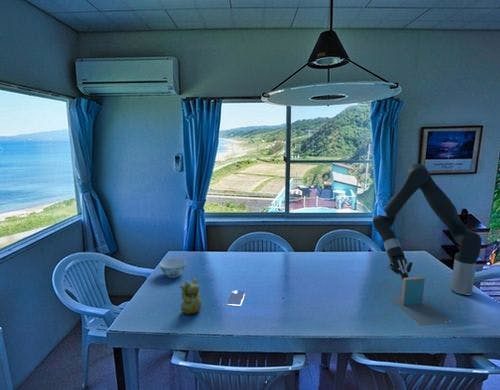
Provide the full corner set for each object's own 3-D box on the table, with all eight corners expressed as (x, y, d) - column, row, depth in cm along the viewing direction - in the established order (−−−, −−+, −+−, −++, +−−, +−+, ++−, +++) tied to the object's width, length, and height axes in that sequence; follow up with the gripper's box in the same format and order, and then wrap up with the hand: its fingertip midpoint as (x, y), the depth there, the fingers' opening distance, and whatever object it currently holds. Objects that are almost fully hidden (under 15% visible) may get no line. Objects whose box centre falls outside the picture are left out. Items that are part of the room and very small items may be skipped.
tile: (400, 303, 148) (403, 278, 146) (419, 301, 150) (422, 276, 148) (403, 305, 146) (406, 279, 144) (422, 303, 148) (425, 278, 146)
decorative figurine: (194, 304, 148) (193, 274, 145) (206, 310, 143) (205, 279, 140) (178, 312, 141) (177, 282, 138) (190, 319, 135) (189, 287, 133)
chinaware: (189, 270, 187) (189, 258, 185) (182, 281, 172) (181, 268, 171) (165, 269, 188) (165, 257, 187) (156, 280, 174) (155, 267, 172)
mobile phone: (225, 304, 147) (232, 289, 162) (225, 306, 147) (232, 291, 162) (240, 305, 146) (246, 290, 161) (240, 307, 146) (246, 292, 161)
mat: (389, 301, 152) (389, 299, 152) (419, 298, 155) (419, 297, 154) (421, 327, 131) (421, 325, 130) (454, 323, 133) (454, 322, 133)
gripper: (385, 246, 157) (398, 279, 147) (409, 245, 159) (423, 278, 149) (378, 253, 163) (390, 285, 153) (401, 251, 165) (414, 283, 155)
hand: (407, 281), depth 151 cm, fingers closed
